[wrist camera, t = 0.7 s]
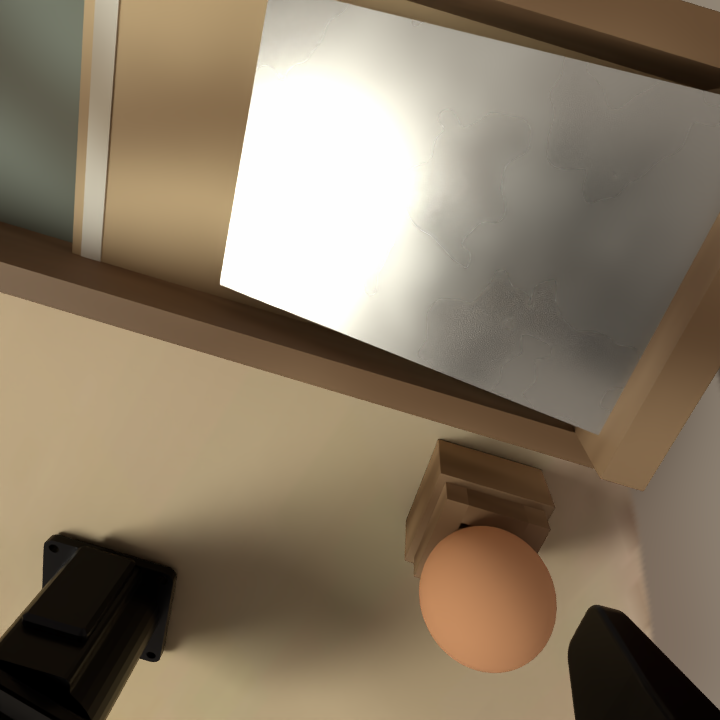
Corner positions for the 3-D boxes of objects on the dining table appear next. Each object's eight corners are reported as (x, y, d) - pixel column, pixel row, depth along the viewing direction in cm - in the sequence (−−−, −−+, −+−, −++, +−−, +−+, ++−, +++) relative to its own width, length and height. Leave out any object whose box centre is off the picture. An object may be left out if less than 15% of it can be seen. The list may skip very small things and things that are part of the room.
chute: (578, 379, 18) (621, 443, 14) (231, 276, 18) (179, 311, 14) (705, 124, 15) (807, 116, 11) (281, -4, 15) (231, -58, 11)
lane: (565, 410, 20) (625, 519, 14) (-148, 198, 20) (-387, 219, 14) (735, 71, 15) (931, 23, 9) (-198, -213, 15) (-589, -441, 9)
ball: (512, 606, 20) (536, 721, 16) (404, 573, 20) (400, 681, 16) (560, 519, 18) (599, 625, 14) (441, 484, 18) (447, 580, 14)
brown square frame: (501, 548, 23) (514, 612, 20) (406, 520, 23) (403, 579, 20) (541, 469, 21) (562, 525, 18) (438, 439, 21) (441, 489, 18)
